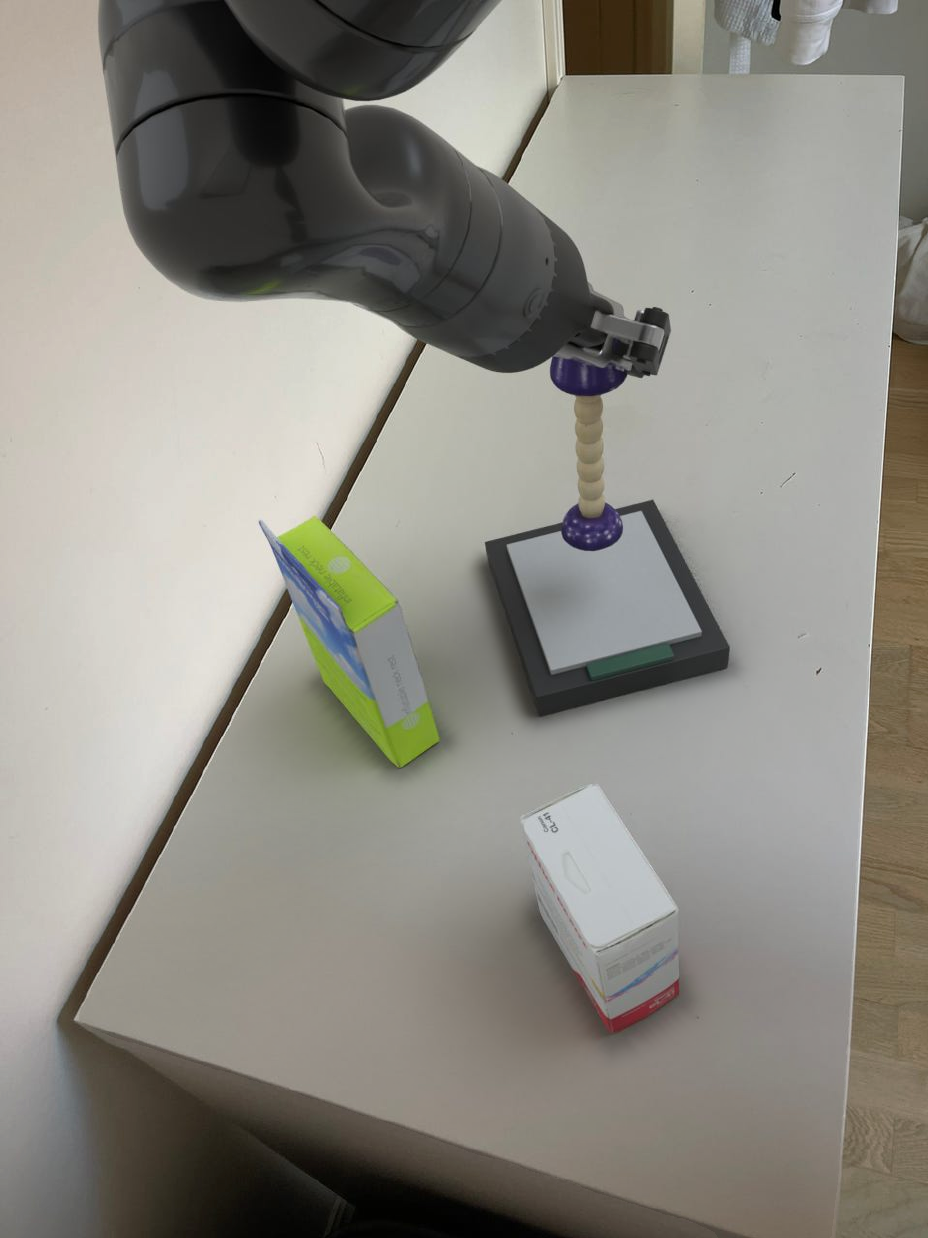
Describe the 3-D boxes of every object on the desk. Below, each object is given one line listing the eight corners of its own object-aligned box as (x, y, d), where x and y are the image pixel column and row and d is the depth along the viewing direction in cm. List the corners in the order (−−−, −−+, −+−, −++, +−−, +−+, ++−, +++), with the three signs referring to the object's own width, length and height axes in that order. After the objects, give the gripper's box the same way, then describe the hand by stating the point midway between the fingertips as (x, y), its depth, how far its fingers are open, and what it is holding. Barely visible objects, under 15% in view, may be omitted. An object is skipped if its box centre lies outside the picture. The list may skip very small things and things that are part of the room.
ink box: (682, 999, 57) (690, 912, 48) (604, 1041, 56) (598, 960, 47) (605, 874, 62) (599, 774, 53) (533, 910, 61) (515, 816, 52)
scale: (728, 668, 71) (730, 642, 69) (538, 717, 70) (535, 692, 68) (653, 520, 81) (653, 493, 79) (487, 562, 81) (483, 536, 79)
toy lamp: (561, 505, 71) (545, 296, 58) (627, 501, 70) (626, 289, 57) (561, 554, 67) (545, 343, 55) (630, 550, 67) (630, 337, 54)
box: (443, 741, 70) (398, 576, 57) (395, 774, 69) (338, 613, 56) (364, 654, 76) (307, 487, 63) (319, 684, 75) (251, 519, 62)
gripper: (646, 210, 41) (737, 311, 56) (370, 165, 47) (518, 267, 62) (592, 389, 42) (695, 441, 58) (330, 322, 49) (485, 385, 64)
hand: (602, 350), depth 60 cm, fingers closed on toy lamp, 4 cm apart
